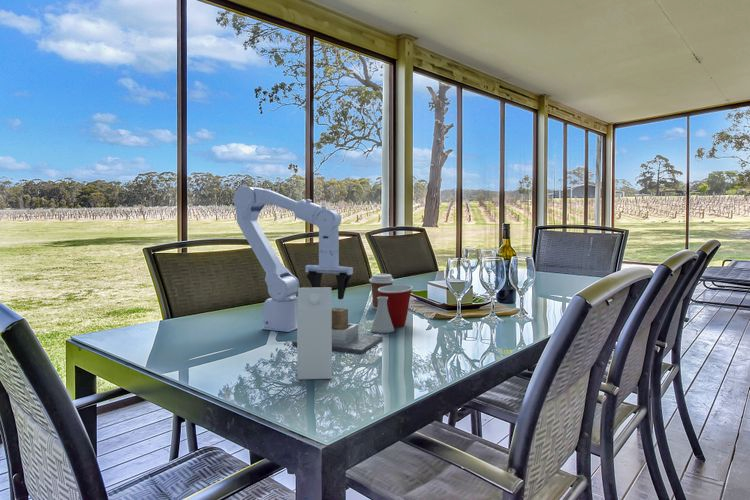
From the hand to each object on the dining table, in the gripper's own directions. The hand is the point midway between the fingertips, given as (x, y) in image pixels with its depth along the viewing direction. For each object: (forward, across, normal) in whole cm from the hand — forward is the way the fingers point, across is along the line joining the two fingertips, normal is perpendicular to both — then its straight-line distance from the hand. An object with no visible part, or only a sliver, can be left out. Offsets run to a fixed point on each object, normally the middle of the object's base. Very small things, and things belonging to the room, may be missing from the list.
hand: (329, 297), depth 146 cm
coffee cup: (+10, +1, +39) cm, 40 cm away
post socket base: (+10, +8, -10) cm, 16 cm away
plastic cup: (+10, +15, +15) cm, 23 cm away
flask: (+10, +14, +7) cm, 19 cm away
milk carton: (+10, +15, -35) cm, 39 cm away
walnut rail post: (+9, +8, -10) cm, 16 cm away
